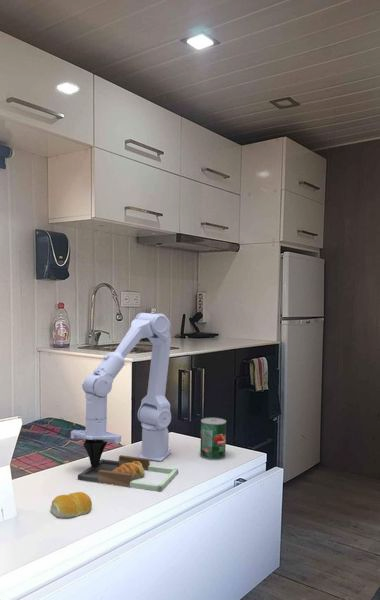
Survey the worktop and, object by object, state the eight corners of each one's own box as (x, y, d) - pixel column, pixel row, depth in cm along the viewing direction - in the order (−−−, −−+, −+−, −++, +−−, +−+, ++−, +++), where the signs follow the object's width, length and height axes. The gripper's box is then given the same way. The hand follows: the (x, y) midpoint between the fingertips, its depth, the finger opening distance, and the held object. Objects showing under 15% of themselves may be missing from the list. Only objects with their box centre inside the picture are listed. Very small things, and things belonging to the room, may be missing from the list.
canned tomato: (225, 460, 149) (225, 424, 149) (199, 459, 150) (199, 423, 150) (225, 452, 157) (226, 418, 157) (201, 451, 158) (201, 417, 158)
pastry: (117, 485, 129) (117, 470, 129) (103, 478, 134) (104, 464, 134) (146, 477, 135) (147, 463, 135) (133, 470, 140) (133, 457, 140)
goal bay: (149, 469, 140) (149, 465, 140) (178, 472, 138) (178, 468, 138) (129, 487, 127) (129, 482, 127) (160, 491, 125) (161, 486, 125)
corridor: (120, 465, 143) (120, 455, 143) (149, 469, 140) (149, 458, 140) (98, 482, 130) (98, 471, 130) (129, 487, 127) (130, 475, 127)
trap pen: (101, 463, 145) (101, 459, 145) (120, 465, 143) (120, 461, 143) (77, 479, 131) (77, 475, 131) (98, 482, 130) (98, 478, 130)
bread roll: (97, 512, 113) (98, 494, 113) (60, 522, 107) (61, 504, 107) (81, 499, 119) (81, 483, 119) (45, 509, 113) (45, 492, 113)
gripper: (65, 418, 136) (64, 467, 136) (113, 423, 132) (112, 474, 132) (78, 412, 142) (77, 460, 142) (124, 417, 138) (123, 465, 138)
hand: (95, 466), depth 137 cm, fingers closed
